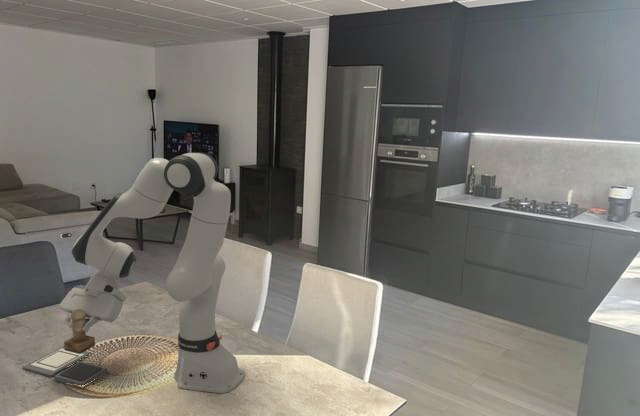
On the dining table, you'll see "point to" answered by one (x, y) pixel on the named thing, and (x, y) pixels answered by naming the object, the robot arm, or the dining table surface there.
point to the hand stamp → (78, 335)
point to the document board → (54, 362)
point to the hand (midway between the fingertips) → (77, 329)
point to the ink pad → (80, 373)
